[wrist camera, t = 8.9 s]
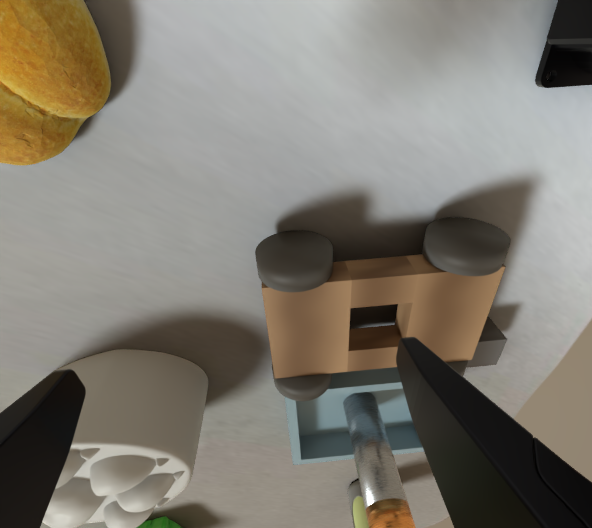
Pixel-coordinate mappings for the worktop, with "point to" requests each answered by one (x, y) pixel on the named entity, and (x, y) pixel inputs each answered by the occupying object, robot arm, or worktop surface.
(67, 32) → the bread roll
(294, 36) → the worktop surface
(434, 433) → the robot arm
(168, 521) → the fruit basket
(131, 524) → the lumpy-topped squat cylinder
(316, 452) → the tray
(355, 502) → the grey and yellow cylinder
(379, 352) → the dolly
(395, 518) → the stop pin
